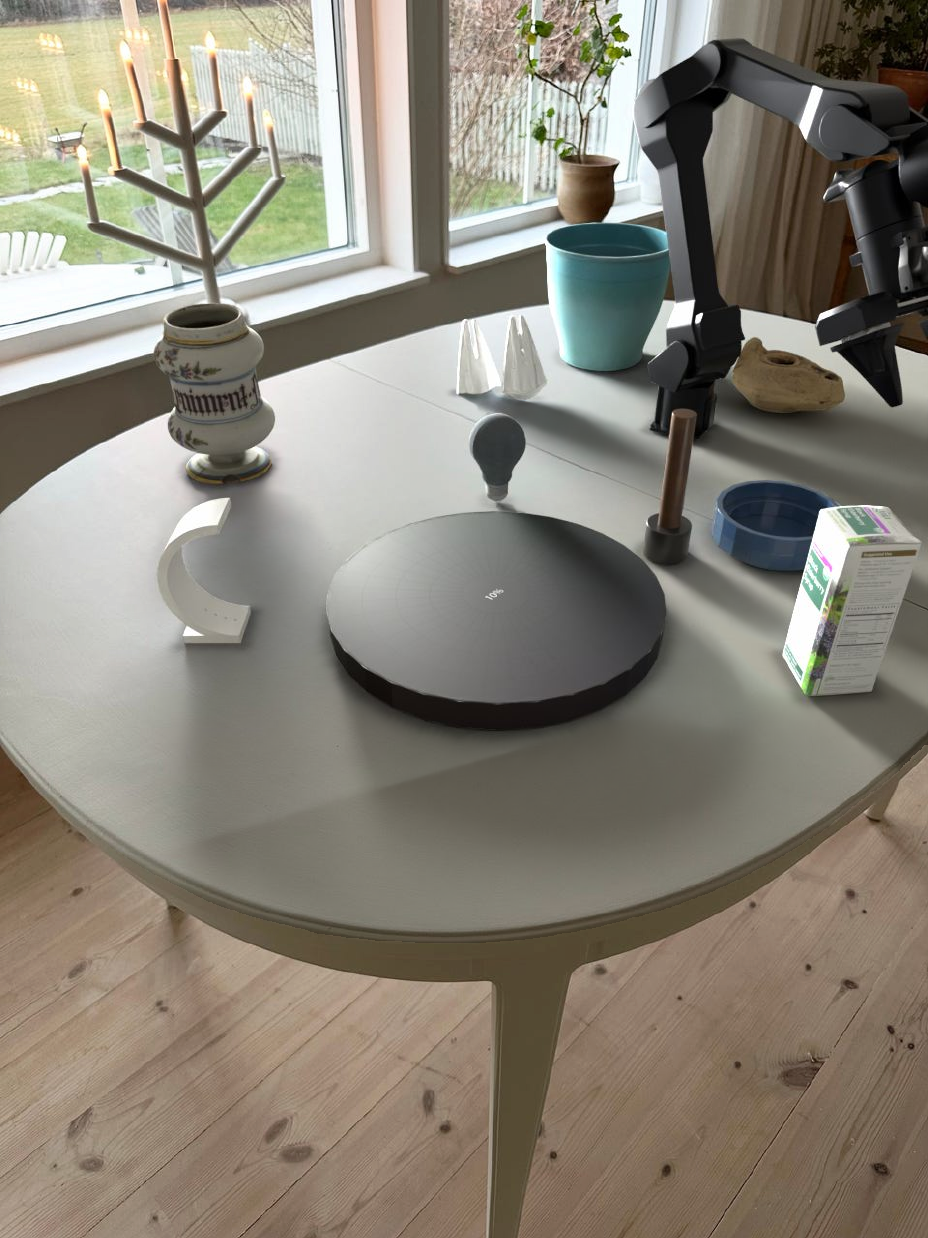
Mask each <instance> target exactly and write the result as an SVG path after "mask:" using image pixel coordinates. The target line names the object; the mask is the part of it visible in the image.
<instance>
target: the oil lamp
mask: <svg viewBox="0 0 928 1238" xmlns="http://www.w3.org/2000/svg"><path fill="white" fill-rule="evenodd" d="M731 383H732V385H733V386H734V387H735V388H736V390H737V391H738V392H739V393H740V394H741V395H742V396H744V397H745V398H746V399H747V401H748V403H749V404H750V405H751V406H753V407H754V408H756V409H758V410H761V411H763V412H764V411H765V412H770V413H775V414H788V413H789V414H790V413H795V412H798V411H809V412H810V411H811V412H813V411H815V412H816V411H825V410H829V409H832V408H834V407H836V406H838V405H840V404H841V403H843V402H844V401H845V398H846V392H845V387H844V381H843V378H842V377H841V376H840V375H839V374H837V373H835V372H834V371H832V370H829V369H826V368H824V367H822V366H821V365H819V364H817V363H816V362H814V361H812V360H811V359H809V358H807V357H805V356H803V355H800V354H797V353H793V352H789V351H785V350H779V349H770V350H769V349H767V348H766V347H764V346H763V341H762V339H761V338H759V337H756V336H753V337H751V338H749V339H748V340H747V341H746V342H745V343H744V345H743V346H742V350H741V355H740V357H738V359H737V361H736V362H735V364H734V365H733V368H732V376H731Z"/></svg>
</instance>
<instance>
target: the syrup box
mask: <svg viewBox="0 0 928 1238" xmlns="http://www.w3.org/2000/svg"><path fill="white" fill-rule="evenodd" d="M839 506H840V507H832V508H826V509H821V510H820V513H819V517H818V521H817V524H816V528H815V532H814V536H813V540H812V543H811V547H810V551H809V555H808V559H807V563H806V566H805V570H803V574H802V577H801V582H800V585H799V589H798V593H797V596H796V597H797V598H796V600H795V605H794V607H793V612H792V616H791V619H790V623H789V627H788V632H787V636H786V640H785V643H784V647H783V651H782V658H783V659H784V660H785V662H786V664H787V666H788V668H789V669H790V671H791V673H792V675H793V676H794V678H795V680H796V682H797V683H798V685H799V687H800V689H801V690H802V692H803V694H804V695H805V697H817V696H818V697H819V696H833V695H834V696H835V695H836V696H837V695H847V694H859V693H860V694H861V693H871V692H872V690H873V689H874V684H875V682H876V679H877V676H878V673H879V670H880V667H881V665H882V662H883V659H884V656H885V653H886V650H887V647H888V643H889V640H890V637H891V636H892V633H893V629H894V626H895V623H896V619H897V617H898V614H899V612H900V608H901V605H902V602H903V600H904V597H905V594H906V590H907V588H908V585H909V583H910V579H911V577H912V574H913V573H912V572H913V570H914V567H915V565H916V562H917V558H918V556H919V552H920V550H921V546H922V543H923V542H922V541H921V540H920V539H919V538H917V537H915V536H914V534H913V533H912V531H910V529H909V528H908V527H907V526H906V525H905V524H904V522H902V520H901V519H900V518H899V517H898V516H897V515H896V514H895V513H894V512H893V511H892V509H890V508H889V507H888V506H884V505H883V506H882V505H881V506H880V505H864V504H863V505H844V506H843V505H839Z"/></svg>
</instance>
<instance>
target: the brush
mask: <svg viewBox="0 0 928 1238" xmlns="http://www.w3.org/2000/svg"><path fill="white" fill-rule="evenodd" d="M696 417H697V414H696V412H695V411H693V410H690V409H676V410H674V411H673V412H672V418H671V426H670V433H669V434H668V440H667V441H668V442H667V450H666V458H665V465H664V472H663V481H662V487H661V488H662V489H661V496H660V502H659V503H660V504H659V512H658V513H654V514H652V515H650V516H649V517H648V518H647V519H646V523H645V531H644V540H643V547H642V548H643V549H642V553H643V556H644V557H645V558H646V559H647V560H648V561H650V562H652V563H654V564H658V565H662V566H675V565H679V564H681V563H684V562H685V561H686V560H687V558H688V556H689V549H690V542H691V535H692V529H693V523H692V521H691V520H690V519H689V518H687V517H686V516H684V515H683V512H684V505H685V497H686V492H687V484H688V478H689V472H690V471H689V470H690V464H691V457H692V449H693V445H694V439H693V437H694V431H695V424H696Z"/></svg>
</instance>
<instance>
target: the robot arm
mask: <svg viewBox="0 0 928 1238" xmlns="http://www.w3.org/2000/svg"><path fill="white" fill-rule="evenodd" d="M732 95H734V96H736V97H739V98H740V99H742V100H744V101H747V102H749V103H751V104H753V105H755V106H757V107H760V108H761V109H763V110H765V111H767V112H770V113H772V114H774V115H776V116H779V117H780V118H782V119H784V120H787V121H789V122H791V123H792V124H794V125H795V126H796V127H797V128H799V129H800V131H801V134H802V135H803V138H804V140H805V142H806V143H807V144H808V145H810V147H812V148H814V149H815V150H816V151H817V152H819V153H820V154H821V155H822V156H824V158H826V159H827V160H829V161H831V162H834V163H843V162H849V161H856V160H861V159H862V160H863V159H869V158H875V157H881V156H886V155H891V154H898V158H895V159H894V160H892V161H889V160H885V159H875V160H873V161H871V162H869V163H867V164H865V165H864V166H862V167H860V168H858V169H856V170H855V169H854V168H846V169H841V170H840V169H839V170H836V171H835V173H834V176H833V179H832V182H831V184H830V185H829V186H828V188H827V190H826V191H825V193H824V195H823V202H824V203H832V202H838V201H843V200H845V202H846V205H847V210H848V214H849V218H850V222H851V226H852V230H853V235H854V238H855V244H856V246H857V251H858V252H856V253H853V254H851V255H849V256H848V259H849V263H850V266H851V268H853V267H858V266H861V267H862V271H863V275H864V280H865V284H866V288H867V292H868V295H864V296H861V297H858V298H855V299H853V300H851V301H848V302H845V303H843V304H840V305H837V306H836V307H834V308H832V309H828V310H826V311H824V312H823V311H822V312H821V313H819V315H818V318H817V320H816V323H815V325H814V329H815V333H816V336H817V337H816V338H817V341H818V345H819V347H822V346H826V345H830V344H833V343H837V342H840V341H841V343H839V344H836V345H833V346H830V348H829V349H830V351H831V353H838V354H839V355H840V356H841V357H842V358H843V359H844V360H845V361H846V362H847V363H848V364H849V365H851V366H852V368H854V369H855V370H856V371H857V373H859V374H860V375H861V376H862V377H863V379H865V381H866V382H867V383H868V384H869V385H870V386H871V388H872V389H873V390H875V392H876V393H877V394H878V395H879V396H880V397H881V398H882V399H883V401H884V402H885V403H886V404H887V405H888V406H889V407H890V408H896V407H899V406H902V405H903V403H904V399H903V398H904V397H903V387H902V381H901V376H900V369H899V363H898V358H897V352H896V343H897V341H898V339H899V336H900V334H901V331H902V329H903V327H904V322H902V323H901V322H900V323H898V324H897V323H896V324H893V325H892V324H891V322H894V321H896V320H897V318H901V317H904V316H907V315H911V314H915V313H919V314H920V315H921V316H922V317H923V318H925V317H928V226H926V225H925V221H924V216H923V212H922V207H924V208H926V209H928V118H927V117H926V116H924V115H922V114H921V113H920V112H918V111H917V110H915V109H914V108H912V107H911V106H910V104H909V96H908V94H907V93H906V92H905V90H903V89H901V88H900V87H899V86H896V85H891V84H884V83H878V82H870V81H859V80H858V81H857V80H843V79H835V78H830V77H827V76H825V75H823V74H820V73H819V72H817V71H813V70H811V69H809V68H806V67H804V66H802V65H800V64H797V63H795V62H793V61H790V60H788V59H785V58H783V57H780V56H778V55H776V54H773V53H771V52H769V51H767V50H764V49H762V48H759V47H757V46H754V45H753V44H752V43H751V42H750V41H748V40H746V39H745V38H742V37H741V38H740V37H734V38H721V39H712V40H710V41H708V42H707V43H706V44H704V45H702V46H701V47H700V48H699V49H697V51H696V52H695V53H693V54H692V55H691V56H689V57H687V58H685V59H684V60H682V61H680V62H679V63H677V64H675V65H674V66H672V67H670V68H668V69H666V70H665V71H663V72H662V73H660V74H659V75H658V76H657V77H655V78H651V79H648V80H647V81H645V82H644V83H643V84H642V85H641V87H640V88H639V90H638V93H637V96H636V97H635V98H634V100H633V103H632V119H633V123H634V127H635V131H636V135H637V139H638V143H639V148H640V149H641V150H642V152H643V153H644V154H645V156H646V157H647V159H648V160H649V161H650V163H651V164H652V165H653V167H654V168H655V169H656V171H657V177H658V183H659V190H660V199H661V205H662V213H663V219H664V226H665V232H666V235H667V242H668V250H669V257H670V264H671V268H670V271H671V279H672V285H673V293H674V305H673V308H672V311H671V313H670V317H669V320H668V322H667V325H666V328H665V339H666V340H665V341H666V344H665V345H666V348H665V349H664V350H662V351H661V352H660V353H659V354H658V355H656V356H655V357H654V358H652V359H651V361H649V362H648V363H647V372H648V381H649V382H650V383H652V384H655V385H657V386H658V388H657V395H656V403H655V404H656V405H655V413H654V420H653V422H652V423H651V424H650V425H649V428H648V430H649V431H651V432H656V433H660V434H665V435H669V433H670V426H671V418H672V412H673V411H674V410H676V409H690V410H693V411H695V412H696V414H697V417H696V424H695V431H694V437H693V441H694V440H695V441H698V440H700V439H702V437H703V436H704V434H705V433H706V432H707V431H709V430H710V428H712V426H713V425H714V423H715V416H716V410H717V404H718V397H719V394H718V392H715V388H716V381H718V380H723V379H724V380H725V379H726V378H727V376H728V374H729V372H730V370H731V368H732V367H734V366H735V364H736V362H737V360H738V358H739V357H740V355H741V351H742V349H743V345H742V341H745V340H746V337H745V335H744V331H743V328H742V327H743V326H742V310H741V307H740V306H739V305H738V304H733V305H729V304H728V302H727V301H726V300H725V299H724V297H723V296H722V295H721V293H720V289H719V282H718V275H717V266H716V257H715V249H714V241H713V234H712V225H711V218H710V217H711V216H710V209H709V201H708V193H707V184H706V177H705V169H704V157H705V154H706V152H707V148H708V146H709V143H710V140H711V137H712V135H713V132H714V112H716V111H718V109H719V108H721V107H722V106H724V105H725V104H726V103H727V102H728V101H729V99H730V98H731V96H732ZM921 206H922V207H921ZM918 325H919V327H920V329H921V331H922V333H923V335H924V337H925V338H926V340H927V341H928V319H924V320H922V321H920V322H919V321H918Z"/></svg>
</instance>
